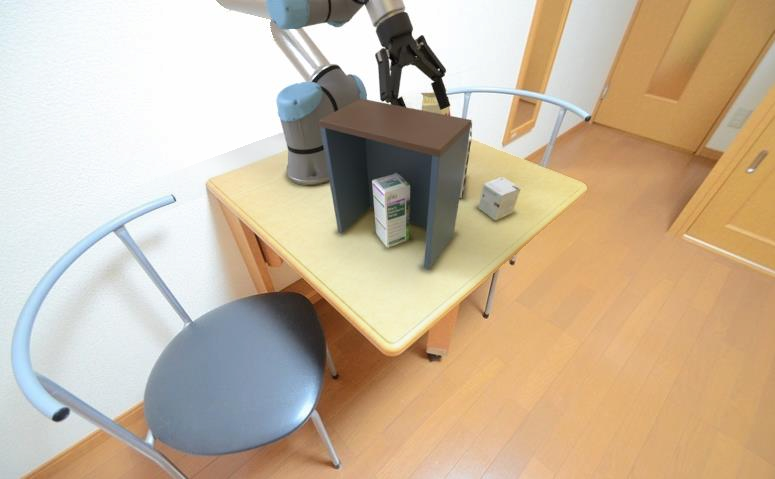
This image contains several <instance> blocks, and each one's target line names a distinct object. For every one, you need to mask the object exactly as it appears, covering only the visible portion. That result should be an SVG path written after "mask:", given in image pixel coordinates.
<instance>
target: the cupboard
mask: <svg viewBox="0 0 775 479" xmlns="http://www.w3.org/2000/svg"><path fill="white" fill-rule="evenodd" d="M471 120H472V119H468V118H463V117H459V116H458V117H457V116H453V115H451V116H448V115H443V114H438V113H433V112H428V111H422V109H416V108H412V107H408V106H406V107H402V106H397V105H392V104H391V103H387V102H382V101H381V102H380V101H375V100H372V99H371V100H370V99H367V100H366V99H359V100H357V101H355V102H353V103H351V104H349V105H347V106H345V107H343V108H341V109H340V110H338V111H336V112H334V113H332V114H330V115H328V116H326V117H324V118H322V119H320V120H319V123H320V129H321V135H322V141H323V147H324V152H325V158H326V164H327V170H328V175H329V181H328V182H329V186H330V187H329V188H330V192H331V198H332V204H333V211H334V216H335V222H336V227H337V232H338V233H340V234H343V233H345V232H346V231H347V230H348V229H349V228H350V227H351V226H353V224H354V223H355V222H357V221H358V220H359V219H360V218H361V217H363V215H364V214H365V213H367V212H368V210H370V209H373V210H374V199H373V187H372V180H374V179H379V178H382V177H385V176H389V175H393V174H394V173H397V174H399V175H400V176H401V177H403V178H404V179H405V180H406V181H407V182H408V183H409V185H410V224H413V225H416V226H419V227H422V228H425V229H426V234H425V245H424V246H425V249H424V261H423V269H425V270H428V271H430V269H432V267H433V266H434V264H435V262H436V261H437V259H438V258H439V257H440V255H441V253H442V252H443V251H444V249H445V248H446V246H447V245H448V244H449V242H450V241H451V240H452V238H453V236H454V235H455V231H456V230H455V229H456V225H457V224H456V223H457V216H458V210H459V204H460V199H461V198H460V191H461V185H462V178H463V172H464V165H465V159H466V153H467V146H468V140H469V133H470V126H471Z"/></svg>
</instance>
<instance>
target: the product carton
mask: <svg viewBox="0 0 775 479" xmlns="http://www.w3.org/2000/svg"><path fill="white" fill-rule="evenodd" d="M521 190H522V188H521V187H519V186H518V185H516V184H515V183H513V182H512V181H510V180H508V179H506V178H505V177H503V176H500V177H498V178H495V179H492V180H490V181H486V182H484V183H483V186H482V189H481V193H480V198H479V202H478V209H479V210H480V211H481V212H483V213H484V214H486V216H488V217H489V218H491V219H492V220H493V221H498V220H500V219H502V218H505V217H506V216H510V215H511V214H513V213H514V209H515V207H516V203H517V201H518V198H519V195H520V192H521Z"/></svg>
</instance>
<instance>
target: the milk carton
mask: <svg viewBox="0 0 775 479" xmlns="http://www.w3.org/2000/svg"><path fill="white" fill-rule="evenodd" d="M420 94H421V95H422V101H421V110H422V111H428V112H433V113H438V114H443V115H448V116H452V115H451V108H450V107H451V106H449V107H447V108H444V109H442V110H440V107H439V104H438V102H437V99H436V96H435V93H434V91H433V92H420ZM448 100H449V101H450V98H449V97H448Z"/></svg>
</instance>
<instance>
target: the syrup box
mask: <svg viewBox="0 0 775 479" xmlns="http://www.w3.org/2000/svg"><path fill="white" fill-rule="evenodd" d="M372 187H373V199H374V209H373V210H374V222H375V234H376V236H378V238H379V239H380V241H382V243H383V244H384V245H385V247H386V248H391V247H393V246H396V245H398V244H401V243H403V242H407V241H409V240H410V234H411V233H410V232H411V231H410V230H411V229H410V227H411V226H410V224H411V222H410V185H409V183H408V182H407V181H406V180H405V179H404V178H403V177H401V176H400V175H399V174H397V173H394V174H393V175H389V176H385V177H382V178H379V179H374V180H372Z"/></svg>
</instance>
